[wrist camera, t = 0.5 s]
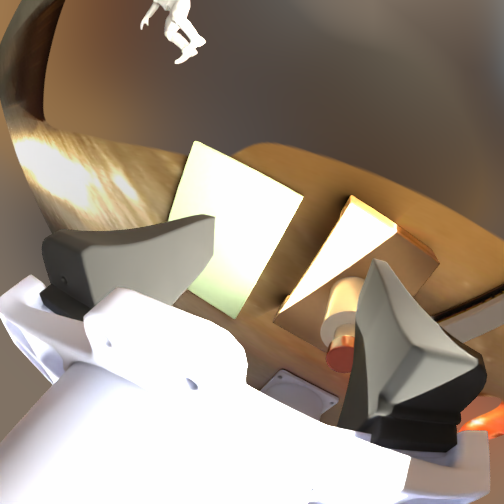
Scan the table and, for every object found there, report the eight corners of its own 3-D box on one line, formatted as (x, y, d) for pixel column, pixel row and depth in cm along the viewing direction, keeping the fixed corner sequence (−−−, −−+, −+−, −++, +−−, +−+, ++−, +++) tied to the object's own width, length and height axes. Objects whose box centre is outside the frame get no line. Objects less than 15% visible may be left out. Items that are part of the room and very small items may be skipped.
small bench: (350, 346, 25) (348, 365, 23) (280, 306, 26) (272, 322, 24) (432, 250, 19) (440, 263, 17) (350, 194, 20) (350, 202, 18)
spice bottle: (357, 324, 21) (350, 388, 15) (320, 302, 21) (301, 363, 16) (384, 291, 19) (388, 355, 13) (345, 267, 20) (337, 325, 14)
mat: (236, 317, 28) (234, 319, 28) (157, 265, 29) (155, 267, 29) (303, 196, 21) (302, 197, 21) (196, 140, 22) (194, 140, 22)
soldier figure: (169, 77, 22) (108, 0, 16) (210, 54, 22) (150, -20, 17) (190, 43, 15) (113, -46, 9) (244, 20, 16) (166, -64, 10)
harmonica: (523, 271, 16) (532, 282, 14) (524, 298, 16) (532, 309, 15) (388, 330, 23) (389, 344, 21) (396, 352, 23) (397, 367, 22)
